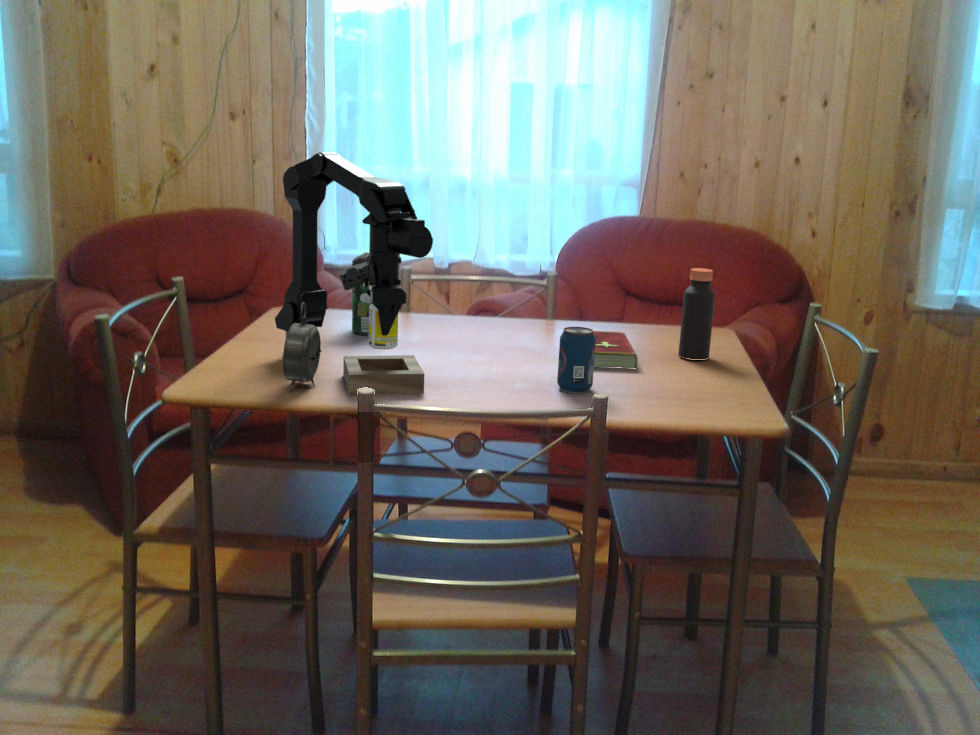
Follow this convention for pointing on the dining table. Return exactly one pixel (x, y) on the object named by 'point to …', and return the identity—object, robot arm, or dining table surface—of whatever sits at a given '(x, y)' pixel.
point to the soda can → (576, 360)
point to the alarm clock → (301, 351)
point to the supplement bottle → (376, 335)
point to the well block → (384, 374)
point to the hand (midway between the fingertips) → (383, 331)
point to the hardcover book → (613, 350)
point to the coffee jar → (360, 303)
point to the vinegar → (697, 315)
